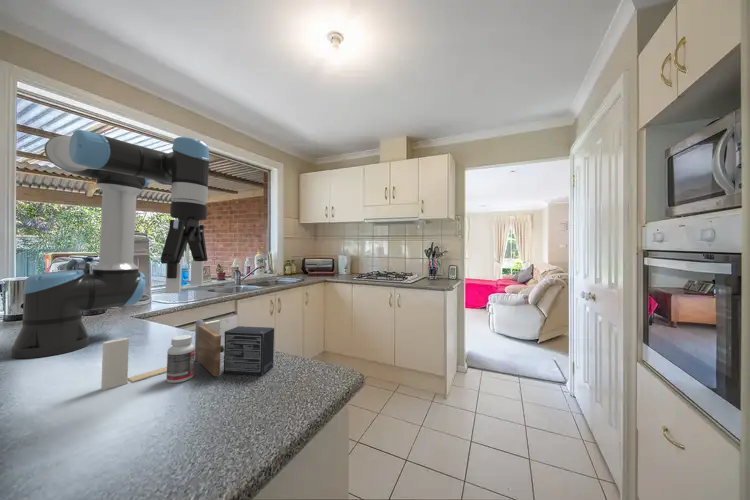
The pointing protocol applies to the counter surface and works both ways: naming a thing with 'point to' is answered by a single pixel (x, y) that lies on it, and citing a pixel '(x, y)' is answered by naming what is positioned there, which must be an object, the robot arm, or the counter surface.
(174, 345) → the pill bottle
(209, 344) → the door
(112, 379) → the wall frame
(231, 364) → the small box
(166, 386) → the counter surface
